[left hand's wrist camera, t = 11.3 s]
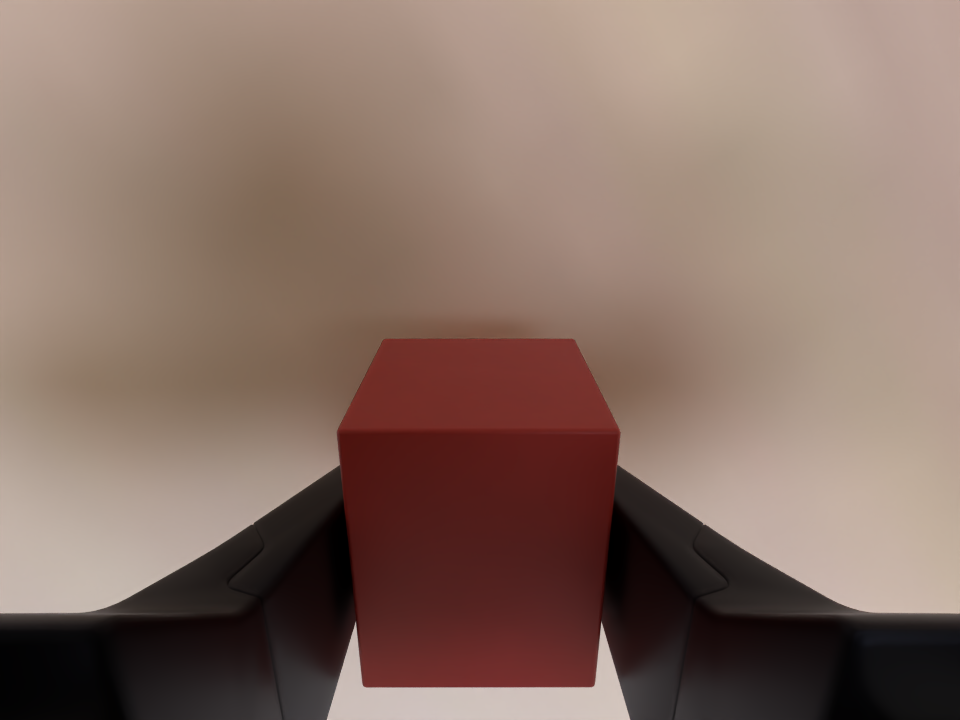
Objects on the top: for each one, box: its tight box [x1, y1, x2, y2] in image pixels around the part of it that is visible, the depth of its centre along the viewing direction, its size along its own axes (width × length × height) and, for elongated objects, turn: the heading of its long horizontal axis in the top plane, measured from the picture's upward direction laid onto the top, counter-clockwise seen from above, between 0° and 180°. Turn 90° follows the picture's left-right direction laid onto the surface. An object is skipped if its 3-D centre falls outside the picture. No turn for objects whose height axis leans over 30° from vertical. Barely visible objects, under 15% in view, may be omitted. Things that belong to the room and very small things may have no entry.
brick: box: [337, 339, 621, 687], centre depth 11 cm, size 5×4×4 cm
